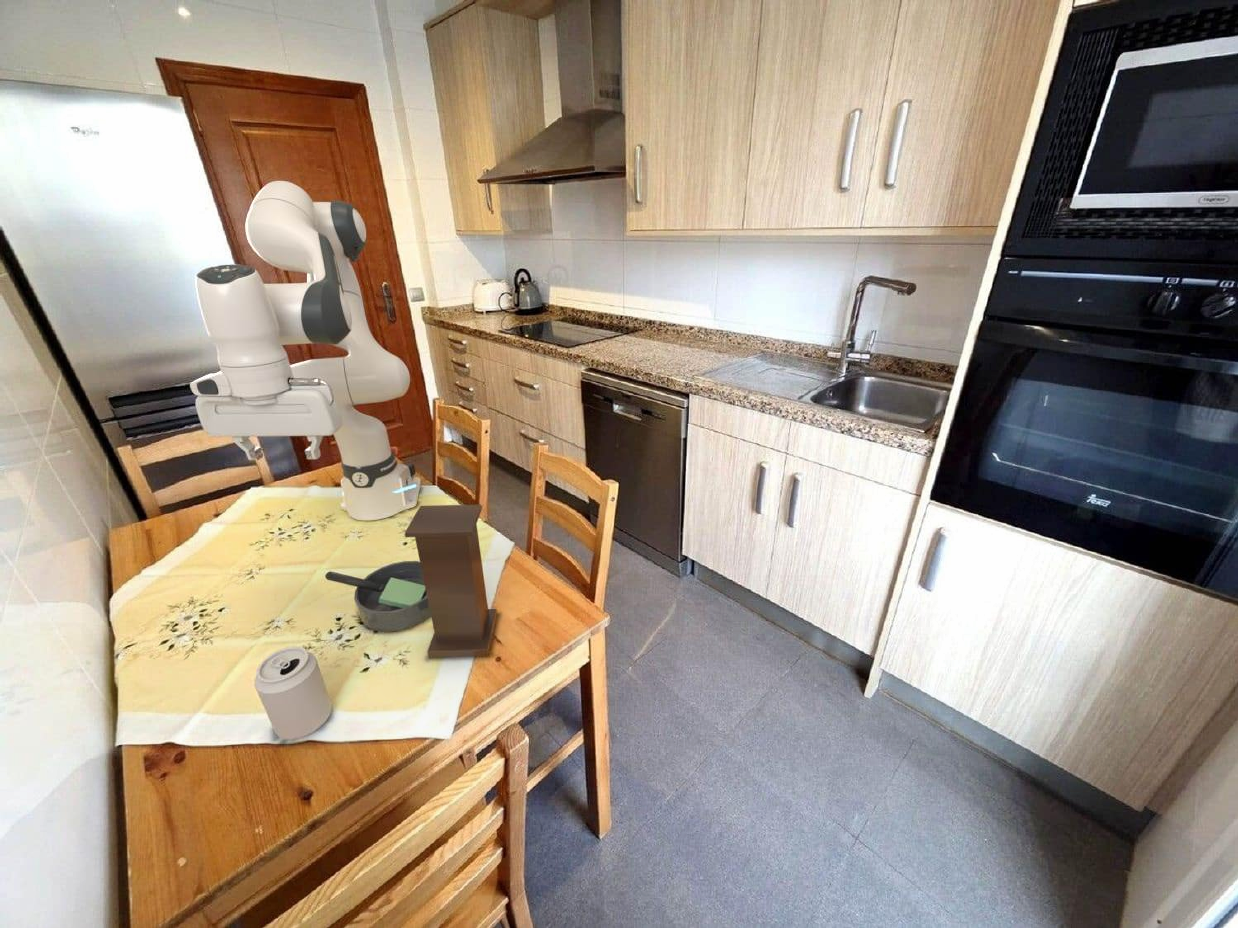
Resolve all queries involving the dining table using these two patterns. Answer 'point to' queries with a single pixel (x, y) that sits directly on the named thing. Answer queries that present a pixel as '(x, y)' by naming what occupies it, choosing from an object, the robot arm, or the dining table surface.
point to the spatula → (385, 589)
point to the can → (293, 692)
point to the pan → (387, 615)
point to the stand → (453, 579)
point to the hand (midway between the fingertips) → (285, 458)
